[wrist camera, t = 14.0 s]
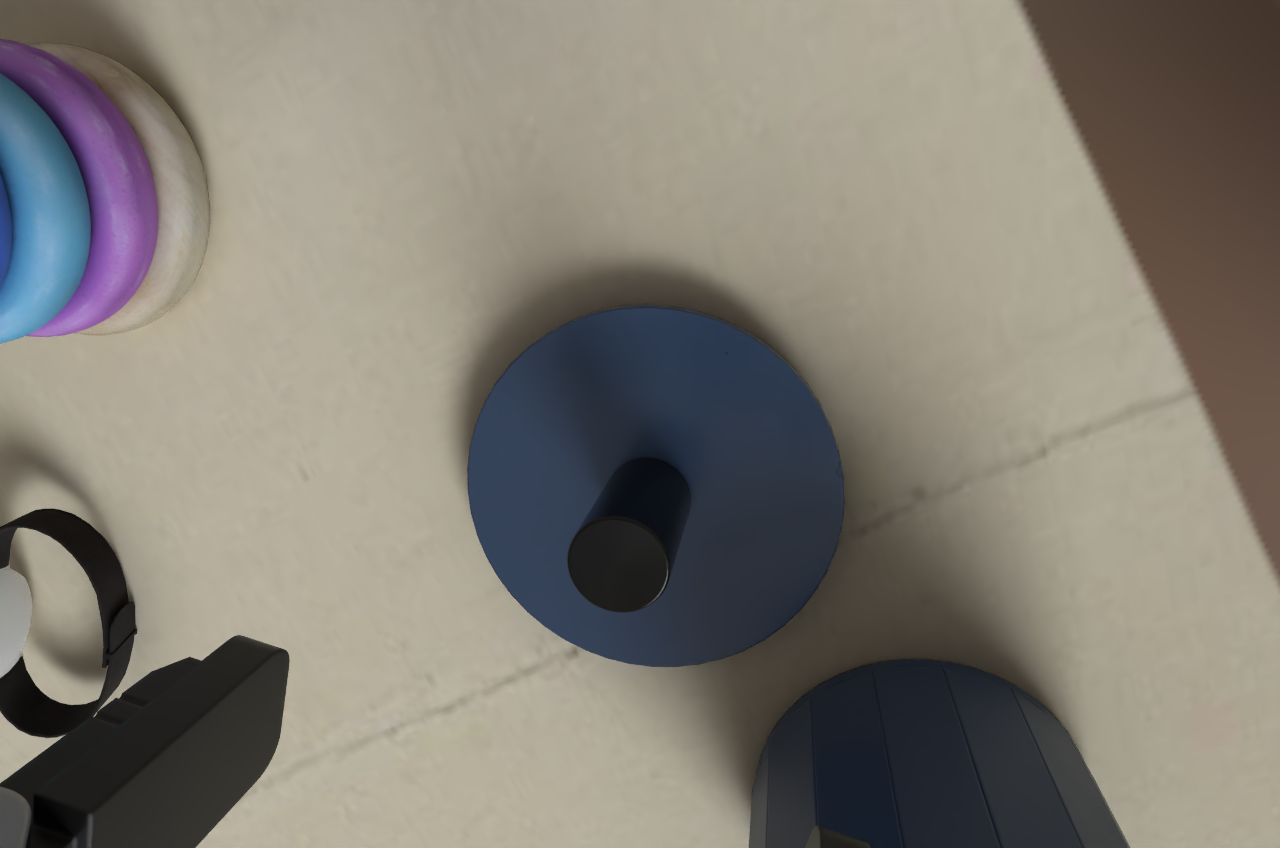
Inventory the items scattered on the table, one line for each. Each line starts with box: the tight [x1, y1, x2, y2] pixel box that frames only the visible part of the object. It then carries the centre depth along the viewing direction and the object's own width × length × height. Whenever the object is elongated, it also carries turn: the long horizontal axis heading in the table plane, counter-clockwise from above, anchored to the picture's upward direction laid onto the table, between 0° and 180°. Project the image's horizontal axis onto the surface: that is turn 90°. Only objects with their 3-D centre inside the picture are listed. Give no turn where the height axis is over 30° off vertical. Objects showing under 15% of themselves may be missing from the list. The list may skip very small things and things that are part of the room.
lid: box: [467, 304, 845, 667], centre depth 22 cm, size 11×11×6 cm
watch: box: [0, 509, 137, 738], centre depth 27 cm, size 8×5×4 cm, turn 175°
